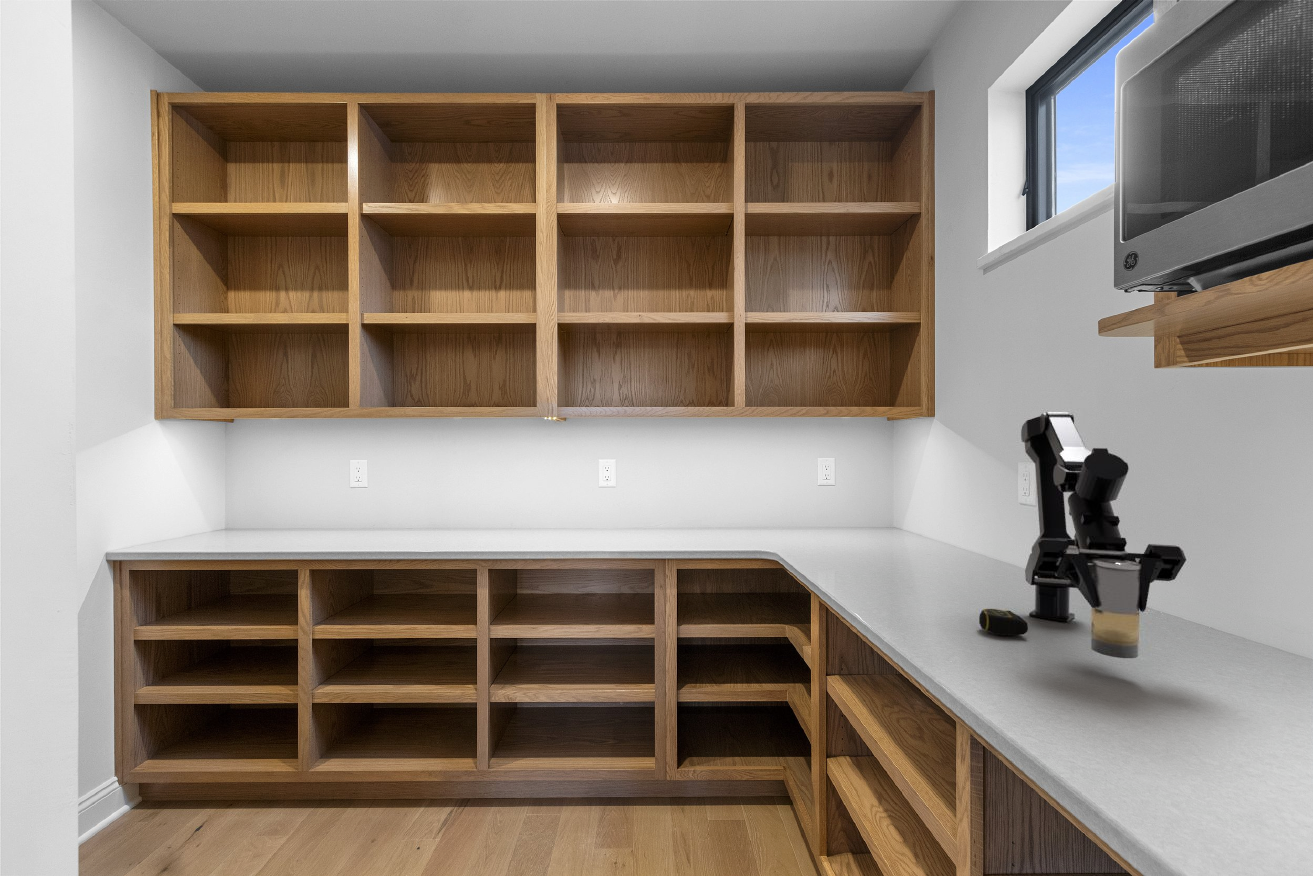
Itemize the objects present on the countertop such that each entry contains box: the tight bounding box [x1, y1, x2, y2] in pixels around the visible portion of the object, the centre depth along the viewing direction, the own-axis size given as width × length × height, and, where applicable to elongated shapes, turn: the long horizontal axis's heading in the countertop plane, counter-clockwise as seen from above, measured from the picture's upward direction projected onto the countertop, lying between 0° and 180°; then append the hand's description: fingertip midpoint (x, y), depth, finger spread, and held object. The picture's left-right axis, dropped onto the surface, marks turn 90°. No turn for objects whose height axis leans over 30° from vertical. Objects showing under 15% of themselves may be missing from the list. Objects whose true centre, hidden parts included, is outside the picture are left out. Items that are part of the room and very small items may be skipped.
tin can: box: [1090, 558, 1141, 659], centre depth 96 cm, size 6×6×13 cm
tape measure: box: [978, 608, 1029, 636], centre depth 117 cm, size 7×7×4 cm
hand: (1118, 608), depth 94 cm, fingers closed on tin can, 6 cm apart
